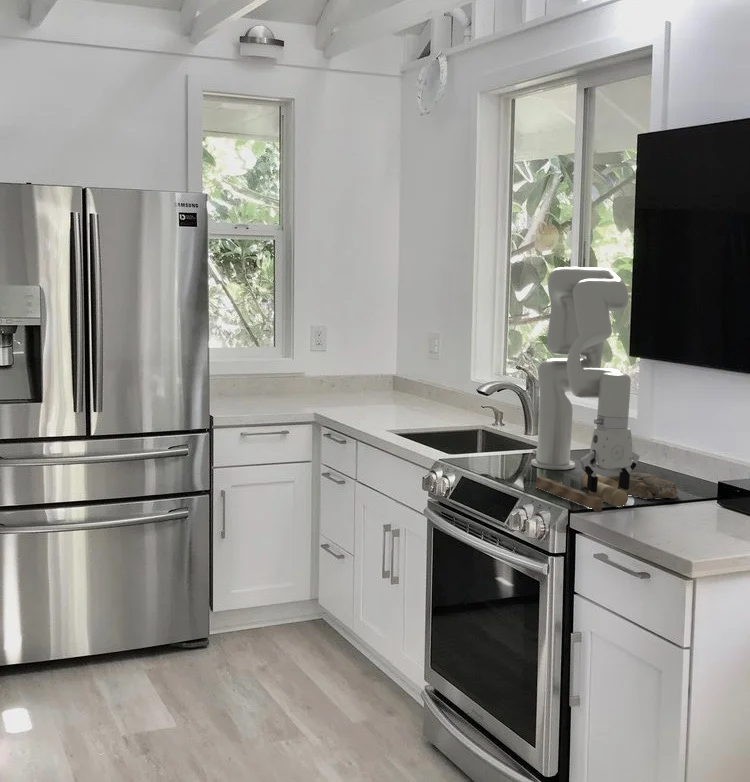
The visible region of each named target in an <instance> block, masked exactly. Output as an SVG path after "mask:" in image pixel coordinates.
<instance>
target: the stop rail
mask: <svg viewBox="0 0 750 782" xmlns="http://www.w3.org/2000/svg"><path fill="white" fill-rule="evenodd" d="M536 487H537V488H540V489H543V490H545V491H548V492H550V493H552V494H555V495H557V496H560V497H563V498H566V499H569V500H572V501H574V502H577V503H579V504H582V505H585V506H587V507H589V508H592V509H593V510H594V511H595V512H594V511H593V512H594V513H597V512H599V513H600V512H603V502H602V500H603V499H601V498H598V497H595V496H593V495H590V494H589V493H587V492H585V491H582V490H579V489H578V488H577V489H576V488H574V487H571V486H568V485H567V484H563V483H561V482H558V481H556V480H553V479H550V478H547V477H545V476H536V477H535V488H536ZM537 488H536V489H537Z"/></svg>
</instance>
